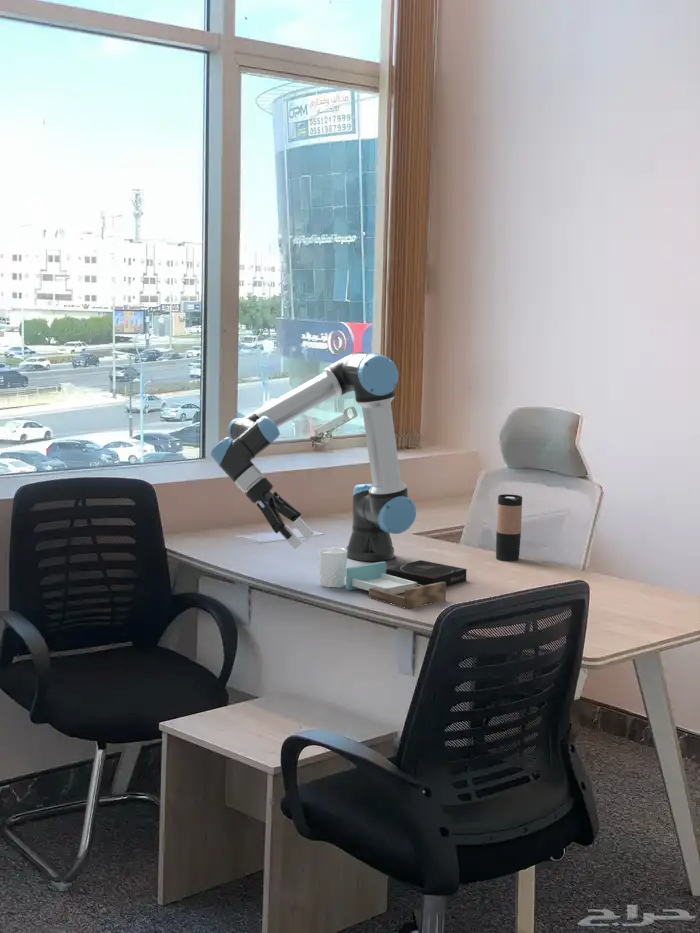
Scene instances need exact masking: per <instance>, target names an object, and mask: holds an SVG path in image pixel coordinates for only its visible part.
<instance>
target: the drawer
mask: <svg viewBox="0 0 700 933" xmlns="http://www.w3.org/2000/svg"><path fill="white" fill-rule="evenodd" d="M446 595H447V587H446V582H439V583H434V584H429V585H420V584H417V587H414V588H409V589H405V592H403V593H398V594H391V593H388V592H384V591H381V590H377V589H374V588H369V591H368V598H369V597H371V598H370V599H372V598H374V599H373V600H376V599H378V600H377V601H379V600H381V601H380V602H382V601H385V602H384V603H386V602H388V603H387V604H389V603H392V604H395V605H394V606H396V605H398V606H397V607H399V606H401V607H400V608H403V607H405V608H404V609H406V608H407V609H406V610H409V609H408V608H410V609H413V608H412V607H414V608H418V607H417V606H419V607H422V606H421V605H423V606H426V605H425V604H428V605H431V604H430V603H432V604H436V603H435V602H437V603H440V601H441V602H445V601H446V597H447V596H446ZM392 604H391V605H392Z"/></svg>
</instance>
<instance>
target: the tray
mask: <svg viewBox="0 0 700 933" xmlns="http://www.w3.org/2000/svg"><path fill="white" fill-rule="evenodd" d="M386 569H387V562H386V561H385V560H384V561H377V562H373V563H367V564H363V565H356V566H351V567H346V575H345V580H346V581H345V590H348V591H353V590H356V589H357V590H358V589H361V590H364V591H368V592H369V588H374V589H377V590H381V591H384V592H388V593H391V594H398V593H403V592H405V589H409V588H414V587H417V582H413V581H410V580H406V579H402V578H399V577H395V576H391V575H388V574H386Z"/></svg>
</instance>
